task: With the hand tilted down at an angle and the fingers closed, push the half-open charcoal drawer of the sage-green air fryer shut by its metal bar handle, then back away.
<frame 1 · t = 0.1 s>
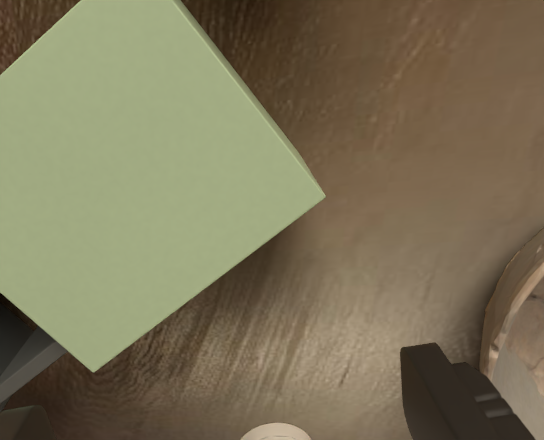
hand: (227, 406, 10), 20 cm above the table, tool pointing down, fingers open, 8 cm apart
air fryer: (151, 149, 28), on the table
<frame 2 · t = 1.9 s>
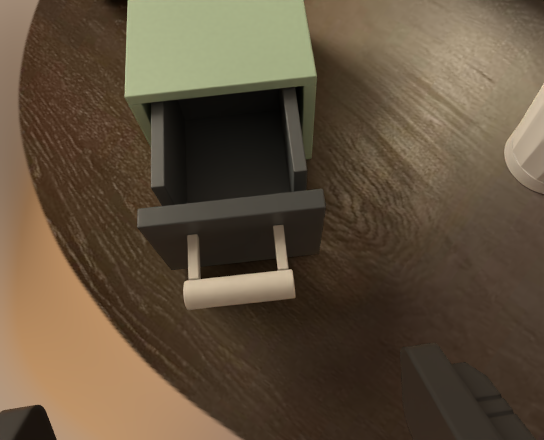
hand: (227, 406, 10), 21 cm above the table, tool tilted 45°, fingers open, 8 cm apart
air fryer: (232, 97, 39), on the table
fryer drawer: (234, 184, 31), point 5 cm above the table, slide at 7.0 cm
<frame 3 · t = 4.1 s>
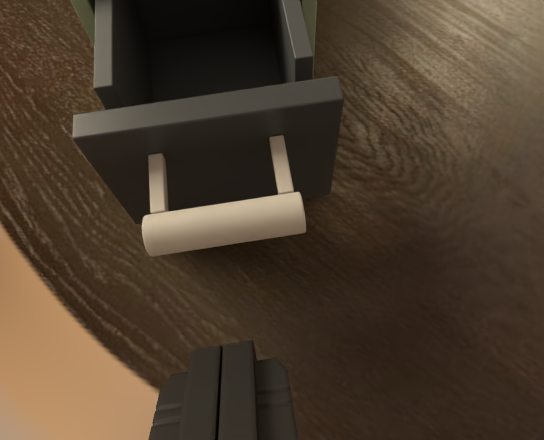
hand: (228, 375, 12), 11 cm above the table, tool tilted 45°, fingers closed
air fryer: (210, 20, 32), on the table
fryer drawer: (214, 100, 23), point 5 cm above the table, slide at 7.0 cm
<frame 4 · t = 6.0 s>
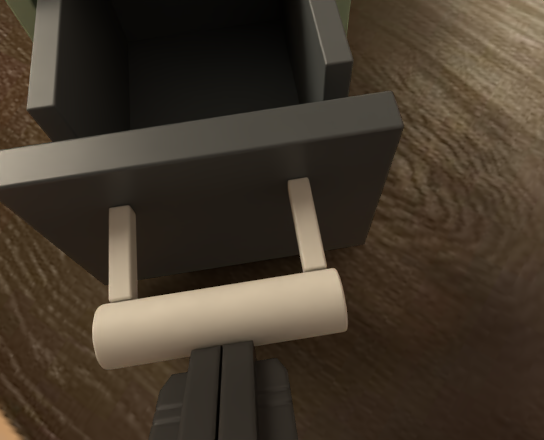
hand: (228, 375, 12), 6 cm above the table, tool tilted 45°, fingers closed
air fryer: (207, 24, 25), on the table
fryer drawer: (209, 121, 17), point 5 cm above the table, slide at 6.3 cm, touching gripper
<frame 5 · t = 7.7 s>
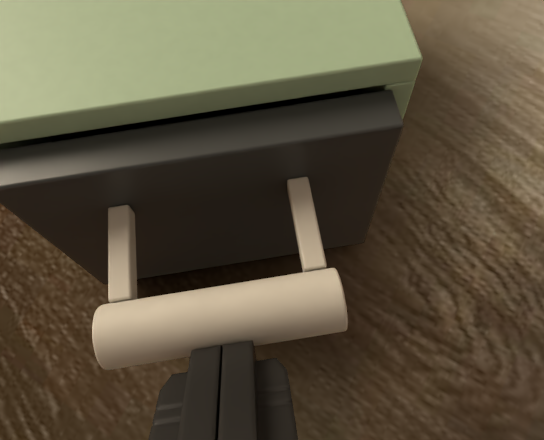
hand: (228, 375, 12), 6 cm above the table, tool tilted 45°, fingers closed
air fryer: (217, 116, 23), on the table
fryer drawer: (208, 120, 17), point 5 cm above the table, slide at 0.0 cm, touching air fryer, gripper
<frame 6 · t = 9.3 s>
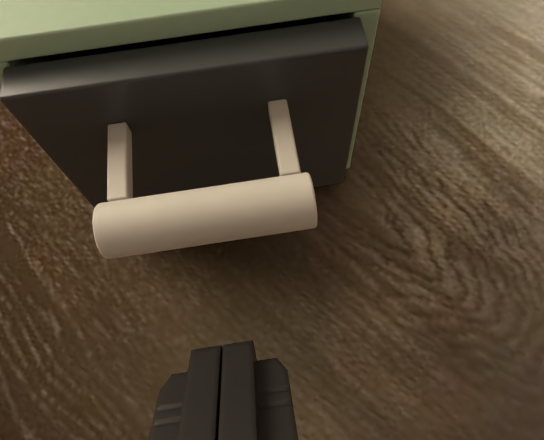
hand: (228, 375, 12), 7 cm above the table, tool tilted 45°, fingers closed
air fryer: (211, 73, 24), on the table
fryer drawer: (200, 63, 18), point 5 cm above the table, slide at 0.0 cm, touching air fryer
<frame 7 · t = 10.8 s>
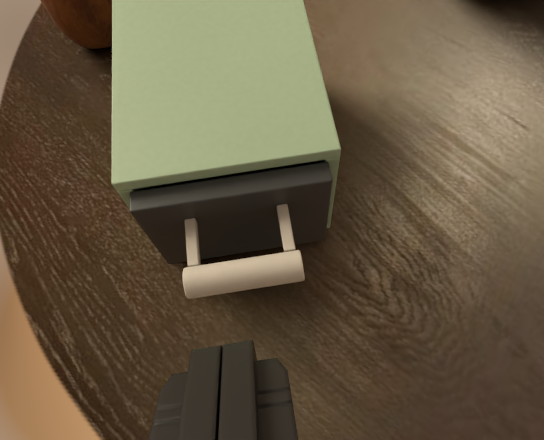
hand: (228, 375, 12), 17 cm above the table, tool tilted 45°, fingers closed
air fryer: (235, 158, 35), on the table
fryer drawer: (232, 168, 29), point 5 cm above the table, slide at 0.0 cm, touching air fryer
wooden figurine: (106, 35, 41), on the table
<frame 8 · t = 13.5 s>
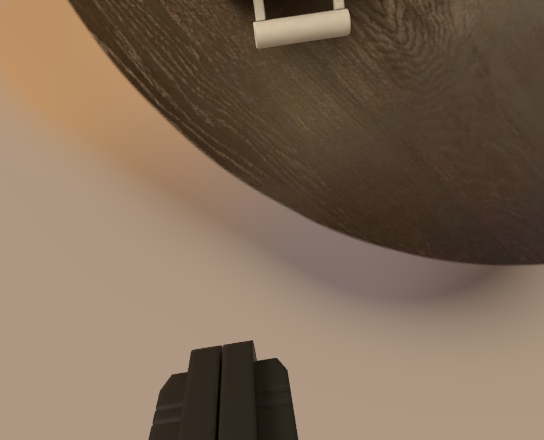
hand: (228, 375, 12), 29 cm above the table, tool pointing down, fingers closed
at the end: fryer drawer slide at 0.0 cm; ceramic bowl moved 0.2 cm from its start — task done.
